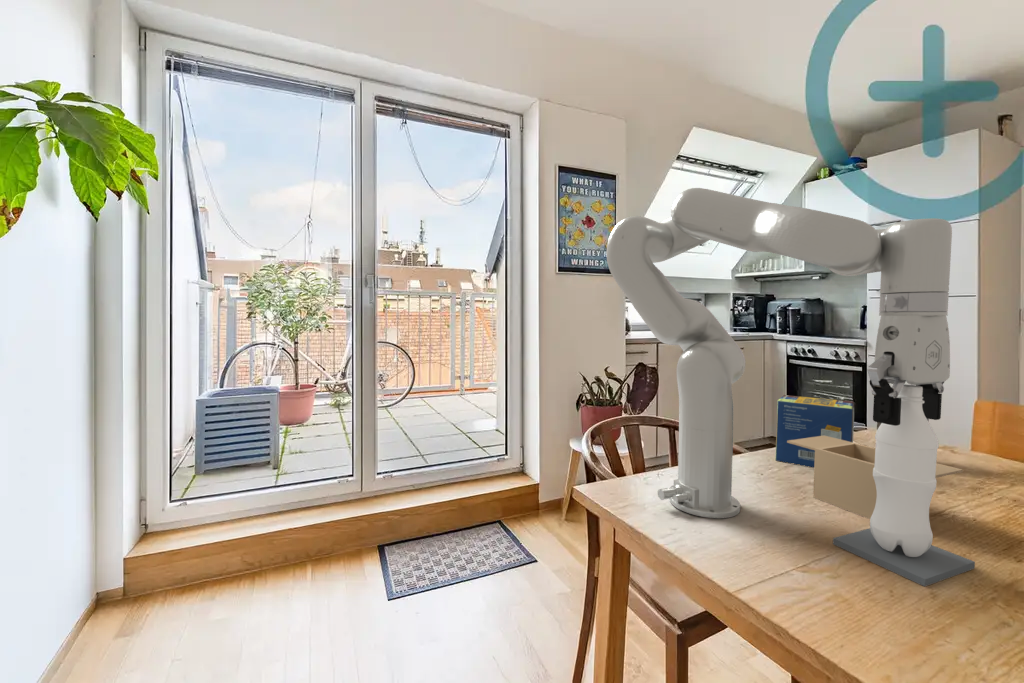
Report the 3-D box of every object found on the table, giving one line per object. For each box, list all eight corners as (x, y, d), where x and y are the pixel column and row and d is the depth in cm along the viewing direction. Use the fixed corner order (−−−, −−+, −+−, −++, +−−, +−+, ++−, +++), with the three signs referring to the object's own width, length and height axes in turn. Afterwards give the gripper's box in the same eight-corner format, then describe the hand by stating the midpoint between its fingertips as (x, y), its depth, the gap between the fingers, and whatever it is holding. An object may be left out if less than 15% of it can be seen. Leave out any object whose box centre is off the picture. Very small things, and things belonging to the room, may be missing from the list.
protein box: (781, 451, 120) (783, 394, 119) (852, 463, 110) (855, 401, 110) (774, 461, 112) (776, 400, 111) (850, 474, 102) (853, 408, 102)
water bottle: (906, 538, 71) (916, 382, 69) (945, 563, 64) (957, 390, 62) (858, 535, 72) (866, 381, 70) (891, 559, 64) (901, 388, 63)
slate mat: (924, 586, 60) (925, 579, 60) (832, 544, 71) (833, 538, 71) (974, 568, 64) (975, 561, 64) (880, 531, 75) (880, 525, 75)
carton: (919, 538, 73) (922, 478, 72) (785, 486, 95) (786, 440, 94) (959, 526, 77) (962, 469, 76) (822, 479, 99) (824, 435, 99)
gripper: (906, 304, 59) (900, 432, 60) (979, 305, 65) (972, 421, 66) (846, 306, 66) (841, 420, 67) (917, 307, 72) (912, 411, 73)
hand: (906, 420), depth 66 cm, fingers open, 9 cm apart
